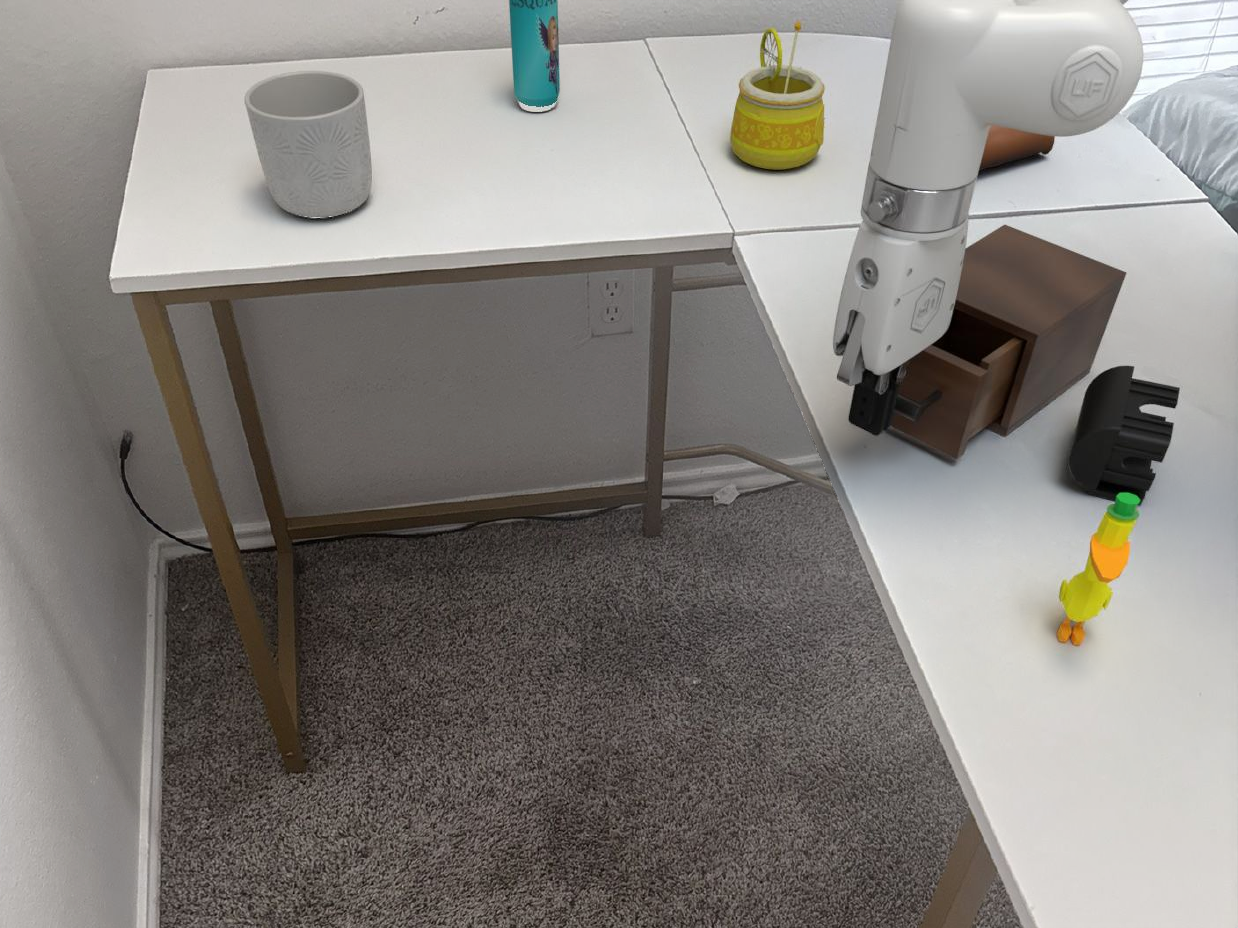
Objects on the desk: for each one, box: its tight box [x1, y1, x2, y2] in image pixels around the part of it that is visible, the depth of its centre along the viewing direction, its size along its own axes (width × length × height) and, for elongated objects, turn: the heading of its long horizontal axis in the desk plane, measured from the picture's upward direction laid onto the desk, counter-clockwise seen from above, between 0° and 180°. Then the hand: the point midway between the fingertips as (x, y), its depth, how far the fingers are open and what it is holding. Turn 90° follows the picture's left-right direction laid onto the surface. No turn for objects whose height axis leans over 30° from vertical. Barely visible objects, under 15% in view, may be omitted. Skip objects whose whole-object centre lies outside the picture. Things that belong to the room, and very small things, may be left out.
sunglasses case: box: [979, 125, 1056, 171], centre depth 133 cm, size 18×7×7 cm, turn 121°
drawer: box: [889, 308, 1027, 460], centre depth 100 cm, size 18×11×8 cm, turn 135°
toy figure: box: [1056, 493, 1141, 646], centre depth 82 cm, size 7×4×12 cm, turn 164°
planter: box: [244, 70, 373, 217], centre depth 124 cm, size 12×12×11 cm
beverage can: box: [508, 0, 561, 107], centre depth 138 cm, size 6×6×15 cm
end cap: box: [1067, 365, 1181, 506], centre depth 97 cm, size 10×7×7 cm
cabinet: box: [954, 224, 1127, 437], centre depth 104 cm, size 15×13×10 cm
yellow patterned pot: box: [729, 21, 826, 171], centre depth 132 cm, size 13×11×12 cm
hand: (868, 425), depth 95 cm, fingers closed
